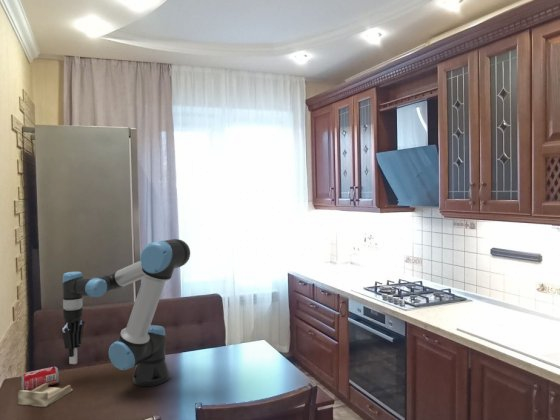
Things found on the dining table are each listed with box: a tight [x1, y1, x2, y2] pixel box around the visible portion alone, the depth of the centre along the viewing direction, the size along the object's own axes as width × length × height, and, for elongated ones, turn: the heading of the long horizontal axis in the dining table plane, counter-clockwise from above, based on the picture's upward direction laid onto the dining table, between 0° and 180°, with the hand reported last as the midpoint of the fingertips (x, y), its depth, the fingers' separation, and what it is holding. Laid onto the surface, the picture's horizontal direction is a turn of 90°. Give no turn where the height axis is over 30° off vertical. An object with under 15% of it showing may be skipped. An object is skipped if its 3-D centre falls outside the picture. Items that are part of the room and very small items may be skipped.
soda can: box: [20, 366, 60, 391], centre depth 179 cm, size 7×7×13 cm
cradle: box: [17, 383, 74, 408], centre depth 170 cm, size 12×15×5 cm
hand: (73, 363), depth 185 cm, fingers closed
